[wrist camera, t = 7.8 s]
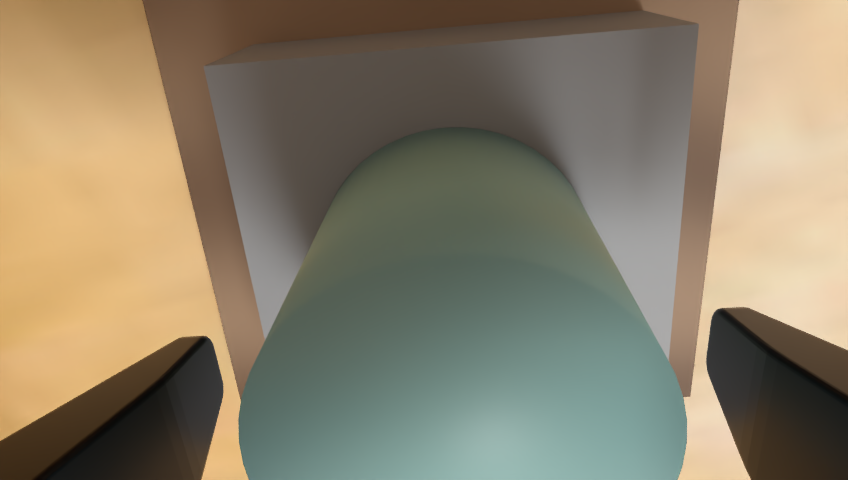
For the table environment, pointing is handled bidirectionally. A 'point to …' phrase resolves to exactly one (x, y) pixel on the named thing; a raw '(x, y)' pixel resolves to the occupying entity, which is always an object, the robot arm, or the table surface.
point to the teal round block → (460, 333)
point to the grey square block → (472, 108)
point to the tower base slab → (393, 12)
